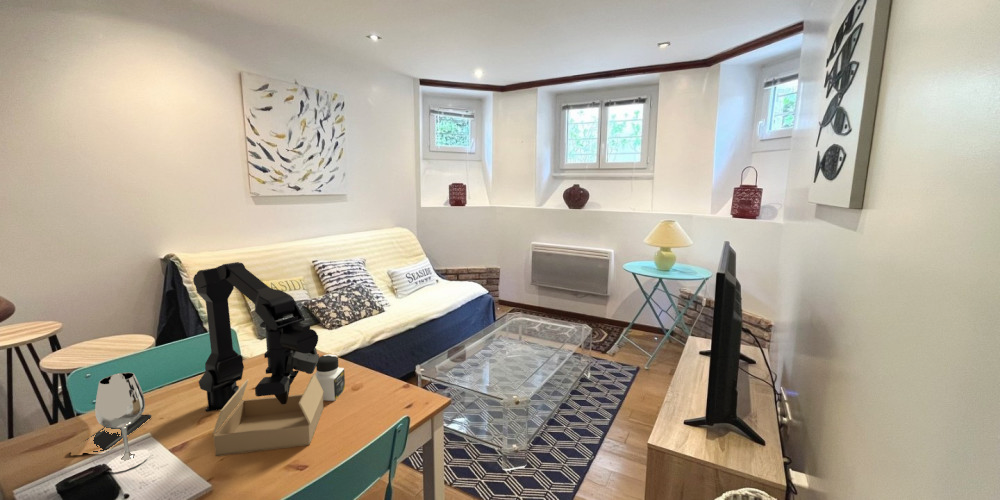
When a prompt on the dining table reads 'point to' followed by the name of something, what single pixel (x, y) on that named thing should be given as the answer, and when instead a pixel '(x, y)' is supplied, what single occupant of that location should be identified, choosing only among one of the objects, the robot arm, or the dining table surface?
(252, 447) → the carton
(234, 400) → the flap near
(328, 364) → the medicine bottle
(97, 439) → the phone
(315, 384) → the flap far
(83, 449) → the dining table surface
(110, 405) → the wineglass
